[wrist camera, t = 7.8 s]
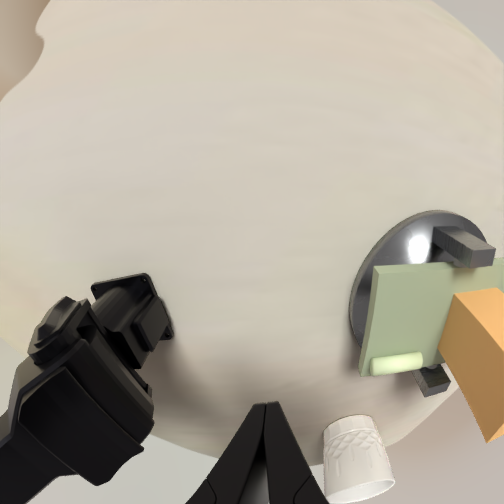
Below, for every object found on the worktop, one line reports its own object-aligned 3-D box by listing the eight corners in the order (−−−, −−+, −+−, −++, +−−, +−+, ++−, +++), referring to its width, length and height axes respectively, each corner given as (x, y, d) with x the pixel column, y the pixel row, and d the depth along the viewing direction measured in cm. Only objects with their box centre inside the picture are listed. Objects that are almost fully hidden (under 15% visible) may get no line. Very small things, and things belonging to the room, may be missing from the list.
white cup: (306, 437, 29) (309, 503, 19) (346, 405, 26) (361, 480, 17) (350, 446, 30) (359, 503, 20) (389, 416, 27) (409, 478, 18)
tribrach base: (340, 367, 24) (353, 419, 18) (354, 210, 19) (389, 238, 13) (461, 344, 23) (488, 380, 17) (494, 211, 17) (540, 232, 11)
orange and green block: (356, 370, 20) (381, 490, 10) (374, 258, 17) (456, 387, 6) (482, 347, 18) (532, 426, 8) (512, 251, 15) (597, 317, 4)
